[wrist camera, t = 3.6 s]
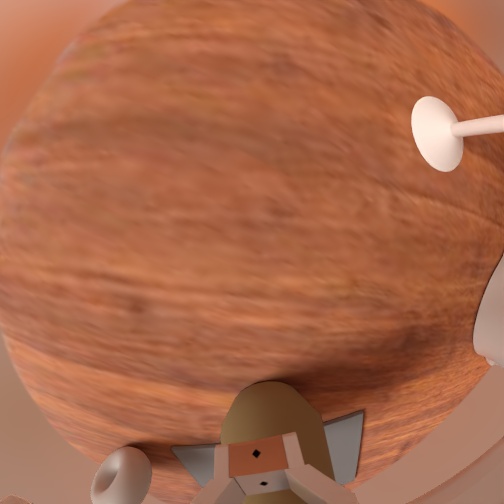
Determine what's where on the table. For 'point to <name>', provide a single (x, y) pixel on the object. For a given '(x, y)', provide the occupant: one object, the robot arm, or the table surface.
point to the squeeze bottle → (278, 429)
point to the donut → (122, 478)
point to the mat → (338, 439)
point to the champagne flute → (446, 132)
